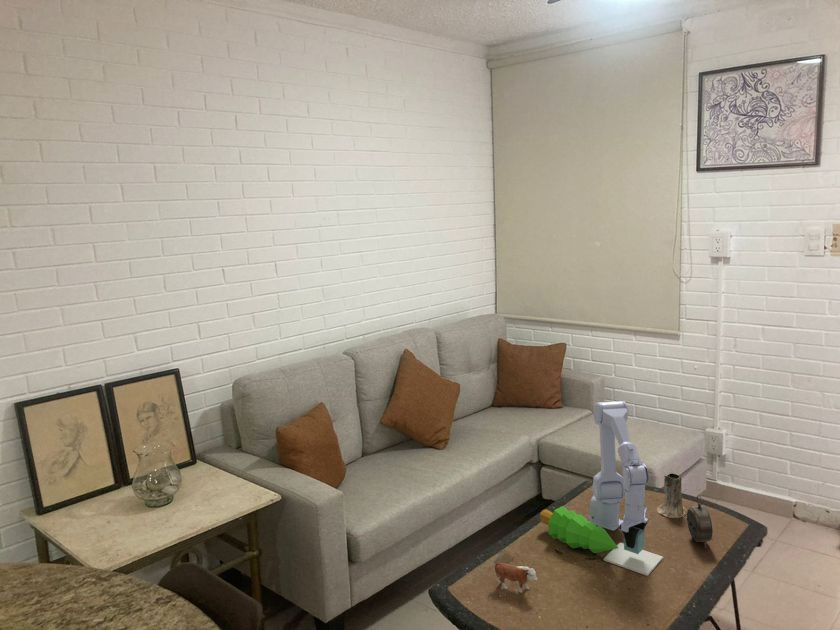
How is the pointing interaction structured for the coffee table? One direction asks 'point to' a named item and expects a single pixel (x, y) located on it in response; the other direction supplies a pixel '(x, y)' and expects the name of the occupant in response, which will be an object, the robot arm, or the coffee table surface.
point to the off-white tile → (634, 560)
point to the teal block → (636, 542)
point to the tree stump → (672, 498)
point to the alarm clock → (699, 523)
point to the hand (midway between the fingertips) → (633, 543)
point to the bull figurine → (515, 575)
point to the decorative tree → (576, 530)
